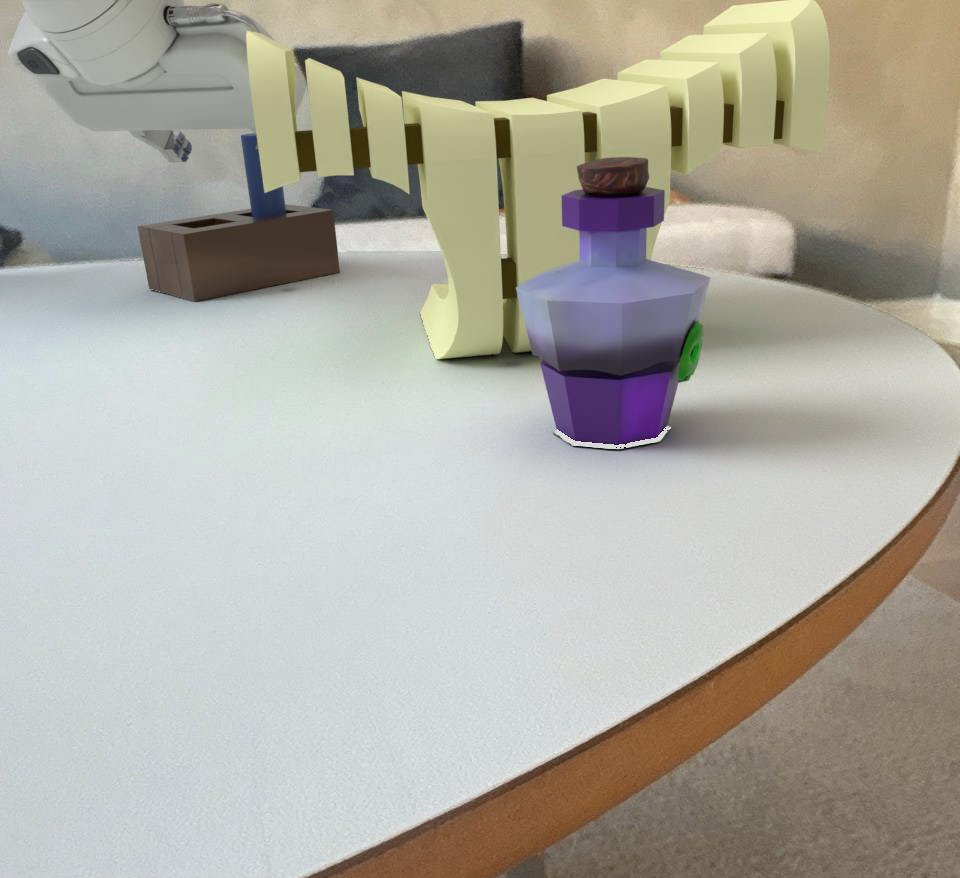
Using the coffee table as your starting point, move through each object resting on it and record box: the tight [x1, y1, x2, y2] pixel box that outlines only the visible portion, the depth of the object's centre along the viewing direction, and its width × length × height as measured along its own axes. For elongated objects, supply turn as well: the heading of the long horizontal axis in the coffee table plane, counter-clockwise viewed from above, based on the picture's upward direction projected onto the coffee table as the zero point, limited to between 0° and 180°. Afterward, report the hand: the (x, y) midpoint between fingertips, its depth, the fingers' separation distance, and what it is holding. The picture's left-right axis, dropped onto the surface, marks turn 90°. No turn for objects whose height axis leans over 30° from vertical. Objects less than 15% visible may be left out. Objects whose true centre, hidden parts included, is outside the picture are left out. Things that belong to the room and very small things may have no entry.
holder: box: [137, 203, 341, 303], centre depth 89 cm, size 8×14×5 cm, turn 131°
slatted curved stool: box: [246, 0, 831, 360], centre depth 65 cm, size 30×16×18 cm, turn 97°
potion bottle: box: [516, 157, 711, 448], centre depth 49 cm, size 9×9×12 cm
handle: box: [240, 132, 286, 218], centre depth 89 cm, size 3×3×11 cm
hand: (229, 155), depth 85 cm, fingers open, 8 cm apart
